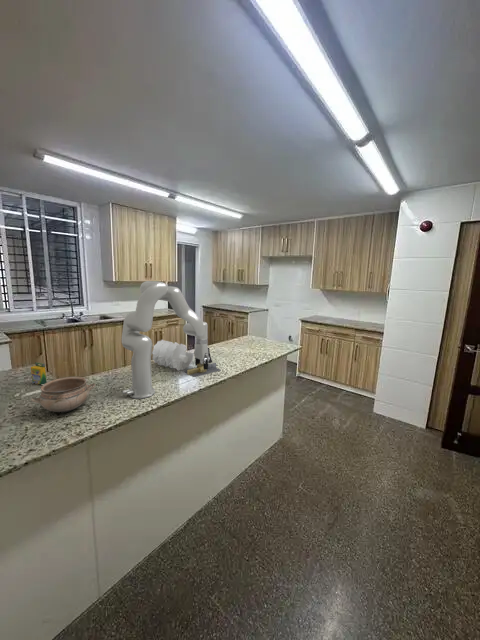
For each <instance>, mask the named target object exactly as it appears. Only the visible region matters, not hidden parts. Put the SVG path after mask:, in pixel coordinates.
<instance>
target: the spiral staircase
mask: <svg viewBox="0 0 480 640" xmlns="http://www.w3.org/2000/svg"><path fill="white" fill-rule="evenodd" d="M187 350H188V349H187V346H186V344H183V343H178V342H176V341H175V342H172V341H169V340H164V339H163V338H162V339H161V340H158V341H156V343H155V344H154V345H152V352H151V355H152V358H151V361H153V362H154V364H156V363H157V364H158V365H159V366H161V367H162V366H163V367H165V368H168V367H169V368H170V369H171V370H172V369H175V370H177V371H178V372H179V371H184V370H185V369H187V368H188V367H190V365H191V363H192V362H193V360H194V357H195V356H194V352H189V351H187Z"/></svg>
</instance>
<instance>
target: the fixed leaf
mask: <svg viewBox="0 0 480 640" xmlns="http://www.w3.org/2000/svg"><path fill="white" fill-rule="evenodd" d="M200 365H203V360H200ZM217 368H218V367H217V362H212V363H208V369H207V370H208V371H209V370H213V369H217Z"/></svg>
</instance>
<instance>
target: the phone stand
mask: <svg viewBox="0 0 480 640" xmlns="http://www.w3.org/2000/svg"><path fill="white" fill-rule="evenodd" d="M208 356H209V357H210V360H209V363H208V364H212V363H213V360H212V357H211V353H210V347H208ZM204 359H205V358H204ZM205 361H206V360H205ZM203 363H204V361H203Z"/></svg>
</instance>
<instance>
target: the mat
mask: <svg viewBox="0 0 480 640" xmlns="http://www.w3.org/2000/svg"><path fill="white" fill-rule="evenodd" d="M216 368H217V369H213V370H209V371H208V370H207V371H206V372H203V373H200V372H198V373H194V374H190V375H189V376H190V377H192V378H197V377H200V376H204V375H207V374H211V373H216V372H221V371H222V370H221V369H220V368H218V367H216ZM184 373H186V374H187V370H186V371H184Z"/></svg>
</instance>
